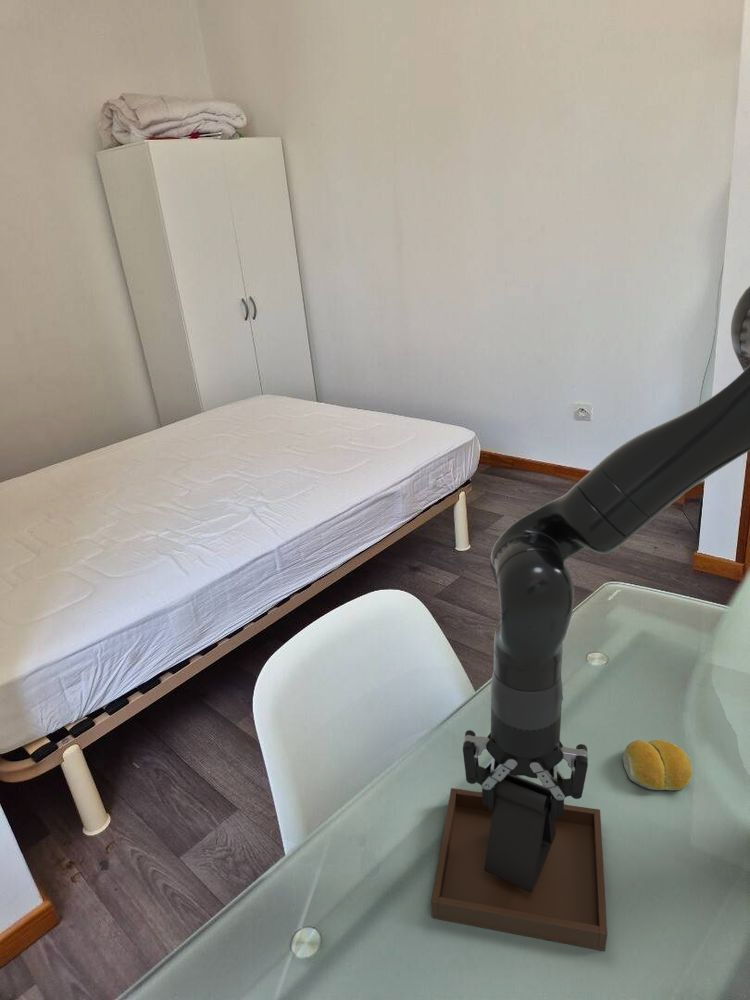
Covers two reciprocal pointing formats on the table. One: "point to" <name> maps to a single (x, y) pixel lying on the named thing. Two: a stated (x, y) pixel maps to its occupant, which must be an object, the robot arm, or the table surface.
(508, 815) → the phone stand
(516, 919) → the tray
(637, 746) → the bread roll
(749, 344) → the robot arm
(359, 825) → the table surface
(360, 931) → the table surface
